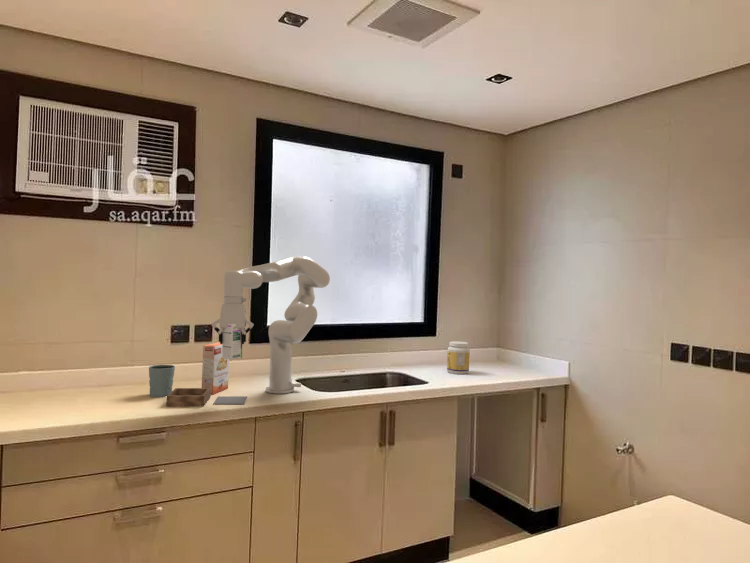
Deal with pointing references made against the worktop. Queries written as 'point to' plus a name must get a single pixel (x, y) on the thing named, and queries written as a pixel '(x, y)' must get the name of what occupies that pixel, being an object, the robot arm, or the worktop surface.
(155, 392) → the teal cup
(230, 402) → the grey mat
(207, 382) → the cracker box
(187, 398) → the walnut box
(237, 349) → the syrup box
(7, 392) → the worktop surface
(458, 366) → the supplement tub
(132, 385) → the worktop surface
